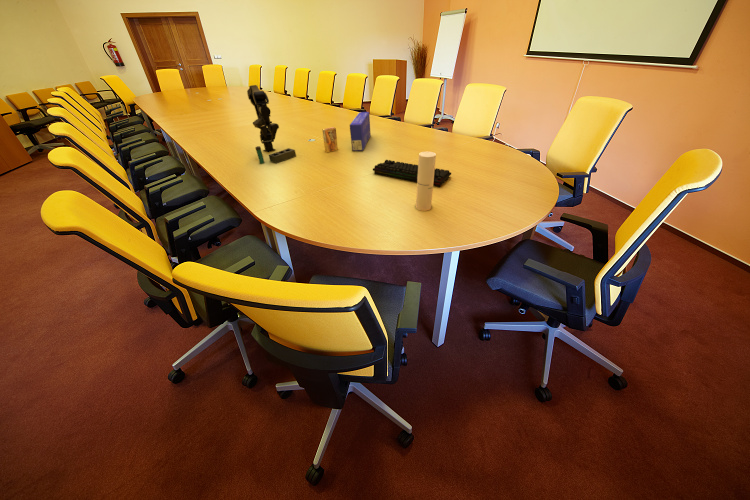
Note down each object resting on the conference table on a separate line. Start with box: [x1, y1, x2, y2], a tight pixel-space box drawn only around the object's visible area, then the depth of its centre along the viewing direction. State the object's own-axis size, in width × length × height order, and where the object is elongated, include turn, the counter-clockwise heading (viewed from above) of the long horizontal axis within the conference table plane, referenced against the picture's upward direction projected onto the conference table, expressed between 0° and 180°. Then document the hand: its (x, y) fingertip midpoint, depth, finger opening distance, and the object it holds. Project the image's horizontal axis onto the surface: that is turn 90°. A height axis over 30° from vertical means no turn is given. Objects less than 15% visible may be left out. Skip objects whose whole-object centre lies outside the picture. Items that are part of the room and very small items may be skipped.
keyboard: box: [372, 159, 452, 188], centre depth 165 cm, size 42×16×5 cm, turn 58°
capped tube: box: [254, 145, 265, 165], centre depth 190 cm, size 3×3×10 cm
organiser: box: [268, 147, 297, 164], centre depth 197 cm, size 7×17×4 cm, turn 142°
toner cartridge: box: [349, 111, 372, 152], centre depth 215 cm, size 39×8×18 cm, turn 172°
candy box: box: [322, 126, 339, 153], centre depth 205 cm, size 9×4×15 cm, turn 129°
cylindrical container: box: [415, 151, 437, 212], centre depth 129 cm, size 7×7×25 cm
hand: (269, 138), depth 193 cm, fingers open, 9 cm apart
